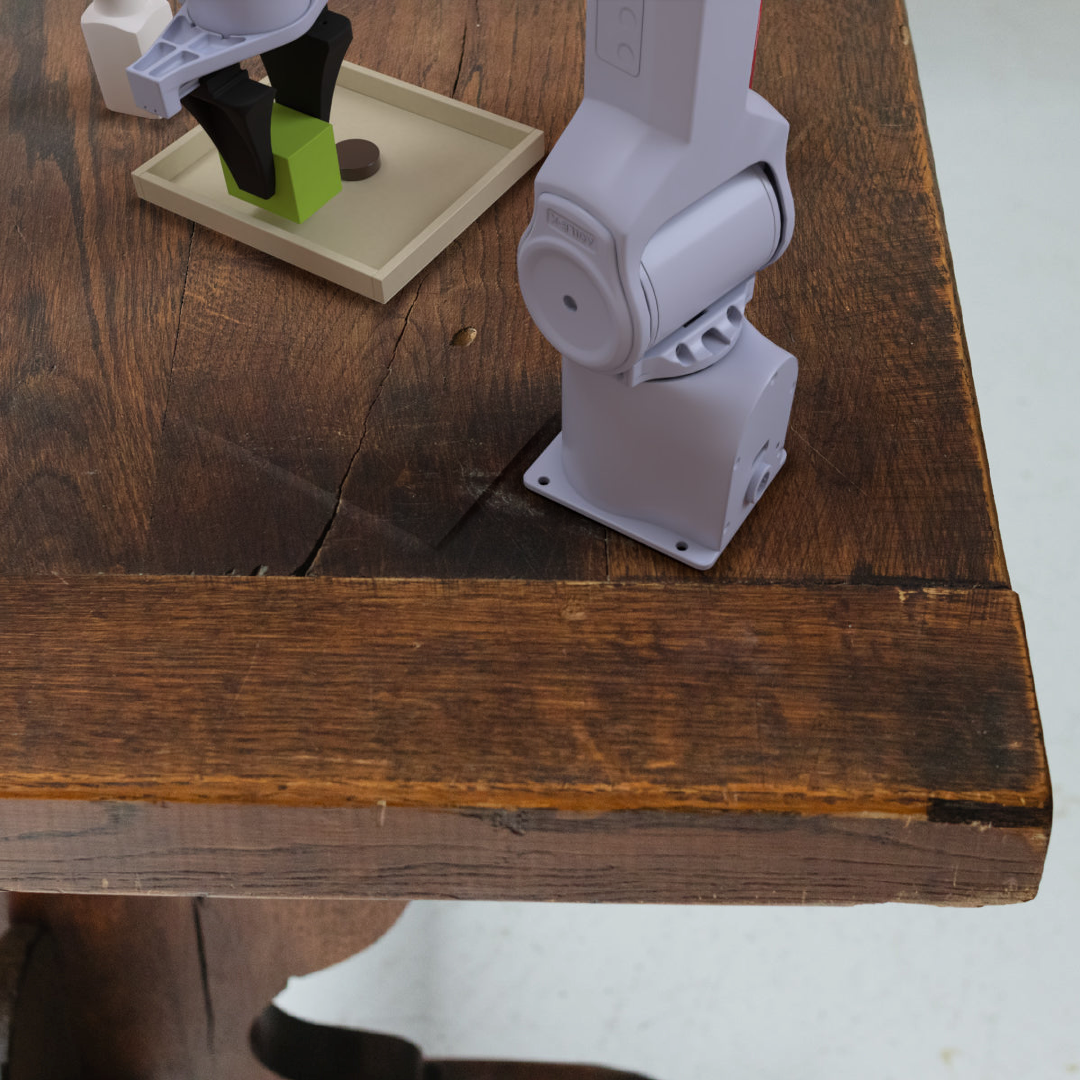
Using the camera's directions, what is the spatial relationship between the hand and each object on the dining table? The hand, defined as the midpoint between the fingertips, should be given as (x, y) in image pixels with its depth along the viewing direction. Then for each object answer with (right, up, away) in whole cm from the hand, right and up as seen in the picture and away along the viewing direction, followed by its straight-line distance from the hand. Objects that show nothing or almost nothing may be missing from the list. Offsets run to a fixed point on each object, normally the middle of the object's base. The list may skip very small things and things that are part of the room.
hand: (283, 170), depth 66 cm
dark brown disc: (+3, +2, +5) cm, 6 cm away
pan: (+2, +1, +5) cm, 6 cm away
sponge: (0, -1, +1) cm, 1 cm away
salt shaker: (-10, +7, +10) cm, 16 cm away
